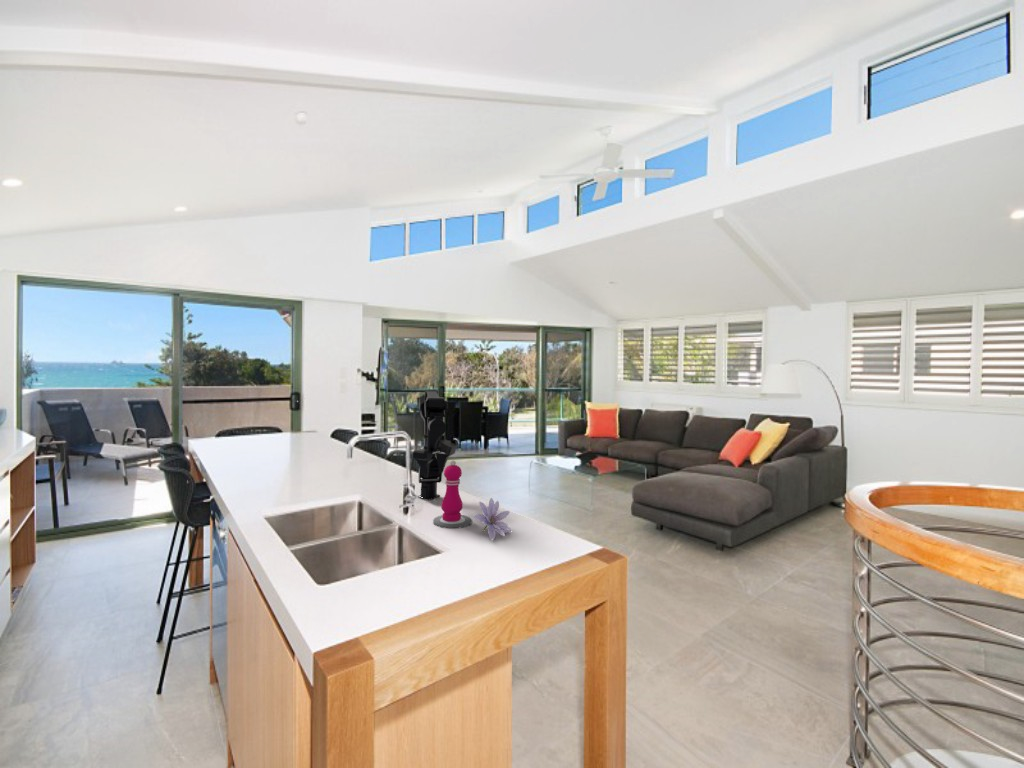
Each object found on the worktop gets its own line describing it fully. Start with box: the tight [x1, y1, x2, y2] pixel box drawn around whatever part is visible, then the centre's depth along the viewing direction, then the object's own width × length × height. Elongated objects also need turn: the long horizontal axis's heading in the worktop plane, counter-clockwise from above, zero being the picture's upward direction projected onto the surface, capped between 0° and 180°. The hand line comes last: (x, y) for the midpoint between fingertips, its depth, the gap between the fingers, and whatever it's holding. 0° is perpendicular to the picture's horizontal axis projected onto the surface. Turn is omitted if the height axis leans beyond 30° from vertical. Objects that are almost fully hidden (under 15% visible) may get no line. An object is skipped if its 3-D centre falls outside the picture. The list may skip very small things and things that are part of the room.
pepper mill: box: [440, 460, 464, 522], centre depth 170 cm, size 7×7×20 cm
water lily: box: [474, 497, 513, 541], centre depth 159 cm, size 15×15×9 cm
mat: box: [432, 514, 473, 529], centre depth 169 cm, size 13×13×1 cm
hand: (433, 475), depth 181 cm, fingers open, 9 cm apart
